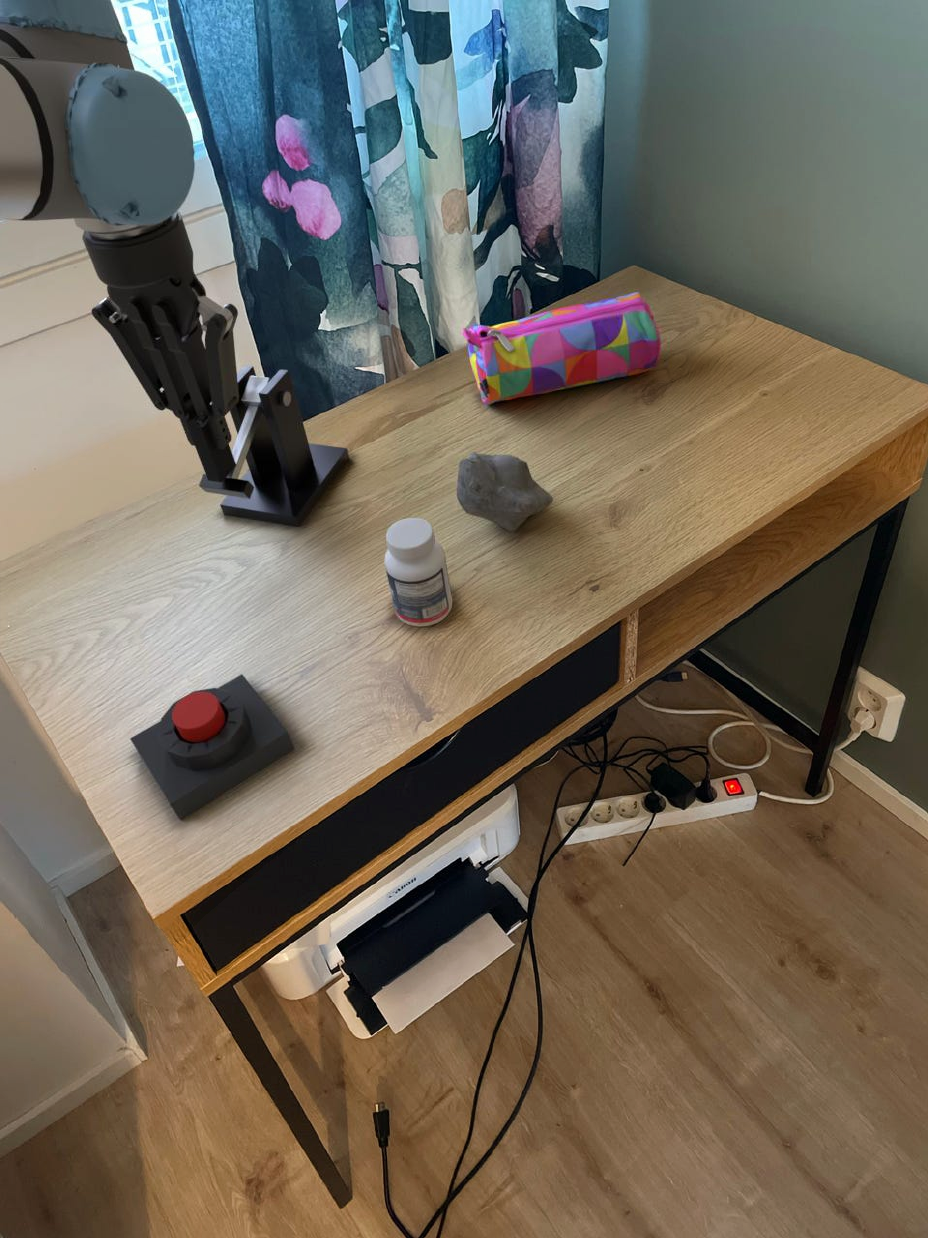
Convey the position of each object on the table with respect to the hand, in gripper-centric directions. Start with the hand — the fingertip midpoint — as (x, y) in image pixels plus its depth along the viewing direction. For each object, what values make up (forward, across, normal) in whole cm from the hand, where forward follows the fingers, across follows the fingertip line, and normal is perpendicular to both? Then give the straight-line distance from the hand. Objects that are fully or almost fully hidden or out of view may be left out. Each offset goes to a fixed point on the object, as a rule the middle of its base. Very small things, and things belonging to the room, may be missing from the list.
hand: (222, 472), depth 84 cm
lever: (0, 0, -5) cm, 5 cm away
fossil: (+9, -24, -9) cm, 27 cm away
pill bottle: (+8, -21, +4) cm, 23 cm away
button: (+5, -11, +24) cm, 27 cm away
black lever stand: (+8, 0, -9) cm, 12 cm away
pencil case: (+9, -23, -34) cm, 42 cm away
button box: (+8, -11, +24) cm, 28 cm away
